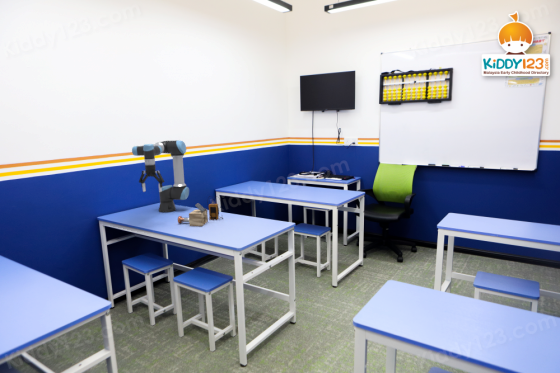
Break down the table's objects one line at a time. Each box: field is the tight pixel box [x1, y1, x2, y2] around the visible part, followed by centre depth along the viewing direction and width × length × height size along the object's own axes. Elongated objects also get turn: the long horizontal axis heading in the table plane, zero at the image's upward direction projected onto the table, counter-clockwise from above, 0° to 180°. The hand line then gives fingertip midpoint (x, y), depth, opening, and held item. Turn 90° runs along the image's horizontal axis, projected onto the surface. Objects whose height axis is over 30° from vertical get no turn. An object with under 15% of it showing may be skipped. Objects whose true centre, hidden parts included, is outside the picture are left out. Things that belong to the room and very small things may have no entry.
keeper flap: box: [195, 202, 206, 211], centre depth 280 cm, size 6×8×1 cm
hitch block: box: [188, 208, 209, 227], centre depth 282 cm, size 14×10×12 cm
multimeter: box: [206, 196, 224, 221], centre depth 297 cm, size 15×10×20 cm
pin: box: [177, 215, 189, 224], centre depth 284 cm, size 14×6×6 cm, turn 82°
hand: (152, 191), depth 274 cm, fingers open, 13 cm apart
